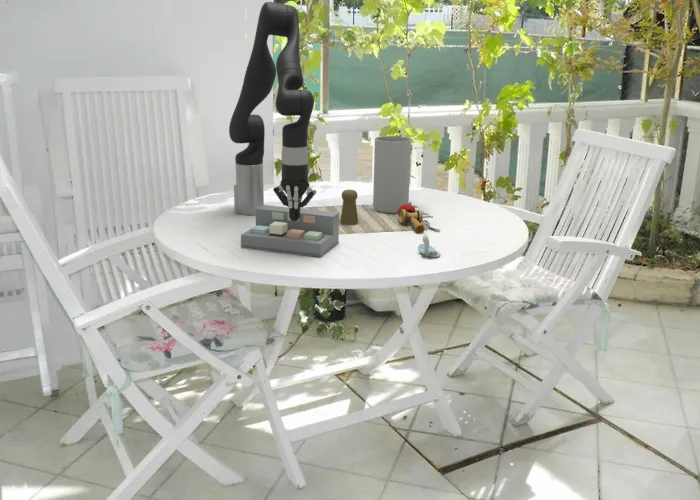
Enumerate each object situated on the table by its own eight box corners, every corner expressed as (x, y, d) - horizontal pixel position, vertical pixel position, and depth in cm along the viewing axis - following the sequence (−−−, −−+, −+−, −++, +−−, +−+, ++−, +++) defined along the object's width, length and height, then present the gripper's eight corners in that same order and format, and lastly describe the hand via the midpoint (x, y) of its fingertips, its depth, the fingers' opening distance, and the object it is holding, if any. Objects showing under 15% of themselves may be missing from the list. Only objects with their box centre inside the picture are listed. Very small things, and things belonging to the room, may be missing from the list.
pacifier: (435, 251, 222) (415, 251, 221) (437, 230, 221) (417, 231, 219) (443, 259, 216) (423, 259, 214) (445, 238, 214) (424, 238, 213)
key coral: (286, 245, 220) (286, 232, 219) (292, 241, 224) (292, 229, 222) (299, 246, 219) (299, 234, 218) (304, 242, 222) (304, 230, 221)
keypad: (241, 247, 222) (240, 216, 219) (263, 234, 235) (262, 204, 232) (320, 257, 214) (320, 225, 211) (338, 243, 228) (338, 212, 225)
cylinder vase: (367, 206, 270) (368, 137, 263) (398, 203, 275) (400, 135, 268) (382, 215, 259) (384, 142, 252) (414, 212, 264) (417, 140, 257)
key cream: (269, 237, 221) (269, 225, 220) (275, 233, 225) (274, 221, 224) (282, 238, 220) (281, 226, 219) (287, 235, 223) (287, 222, 222)
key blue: (252, 241, 223) (252, 228, 222) (258, 237, 227) (258, 225, 226) (264, 242, 222) (264, 230, 221) (270, 238, 226) (270, 226, 224)
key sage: (304, 247, 218) (304, 234, 217) (309, 243, 222) (309, 231, 221) (317, 248, 217) (317, 236, 216) (322, 244, 221) (322, 232, 219)
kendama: (433, 236, 241) (416, 214, 257) (431, 219, 238) (414, 197, 254) (410, 242, 240) (394, 219, 256) (408, 224, 237) (392, 202, 253)
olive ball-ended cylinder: (356, 225, 246) (356, 192, 243) (338, 224, 248) (338, 191, 244) (359, 220, 252) (360, 188, 249) (342, 219, 253) (342, 187, 250)
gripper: (267, 161, 212) (268, 221, 218) (311, 166, 208) (311, 226, 214) (278, 157, 219) (279, 214, 224) (321, 161, 215) (320, 219, 220)
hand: (294, 220), depth 219 cm, fingers closed
